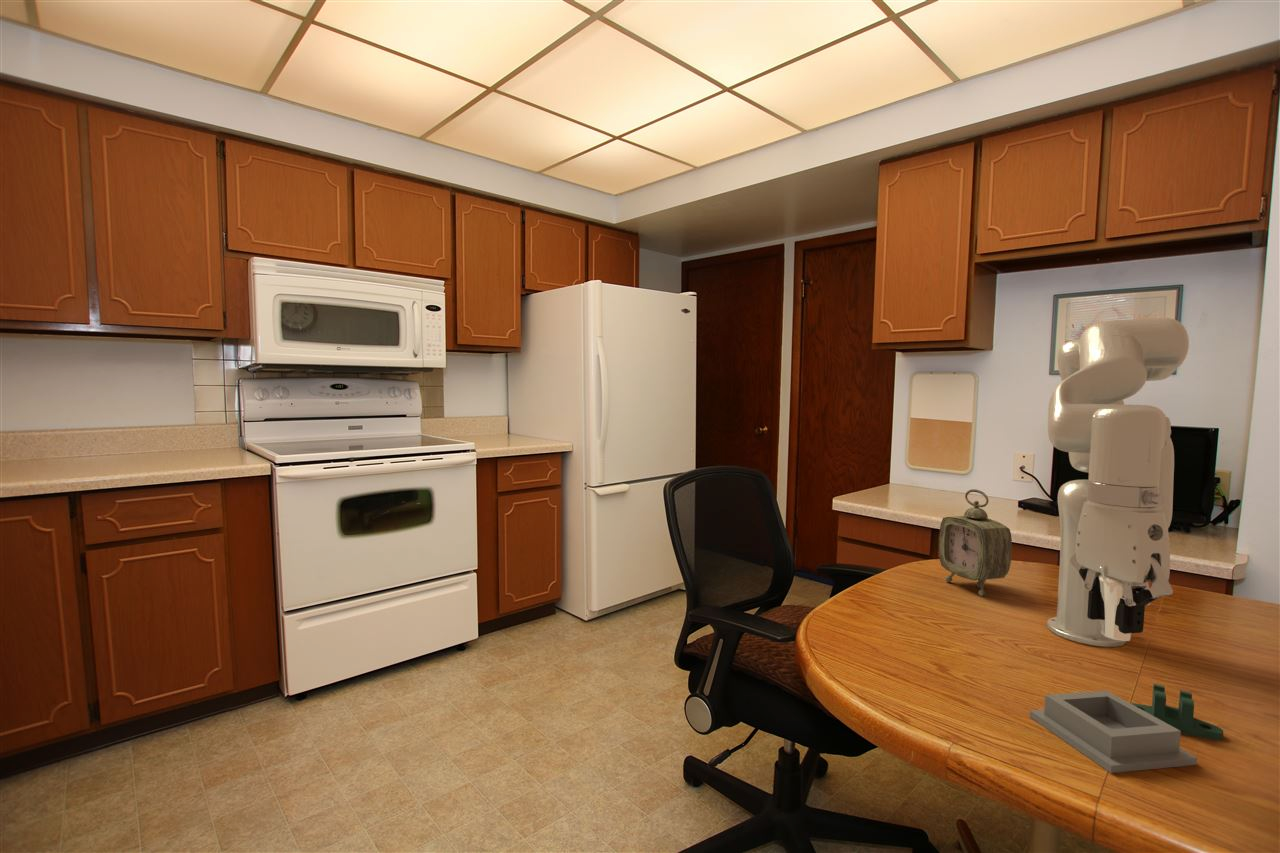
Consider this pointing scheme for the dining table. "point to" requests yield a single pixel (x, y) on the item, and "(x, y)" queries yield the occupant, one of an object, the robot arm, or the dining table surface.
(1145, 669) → the dining table surface
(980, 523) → the tabletop clock
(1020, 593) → the dining table surface
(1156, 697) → the mount
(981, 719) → the dining table surface
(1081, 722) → the socket
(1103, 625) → the milkshake
